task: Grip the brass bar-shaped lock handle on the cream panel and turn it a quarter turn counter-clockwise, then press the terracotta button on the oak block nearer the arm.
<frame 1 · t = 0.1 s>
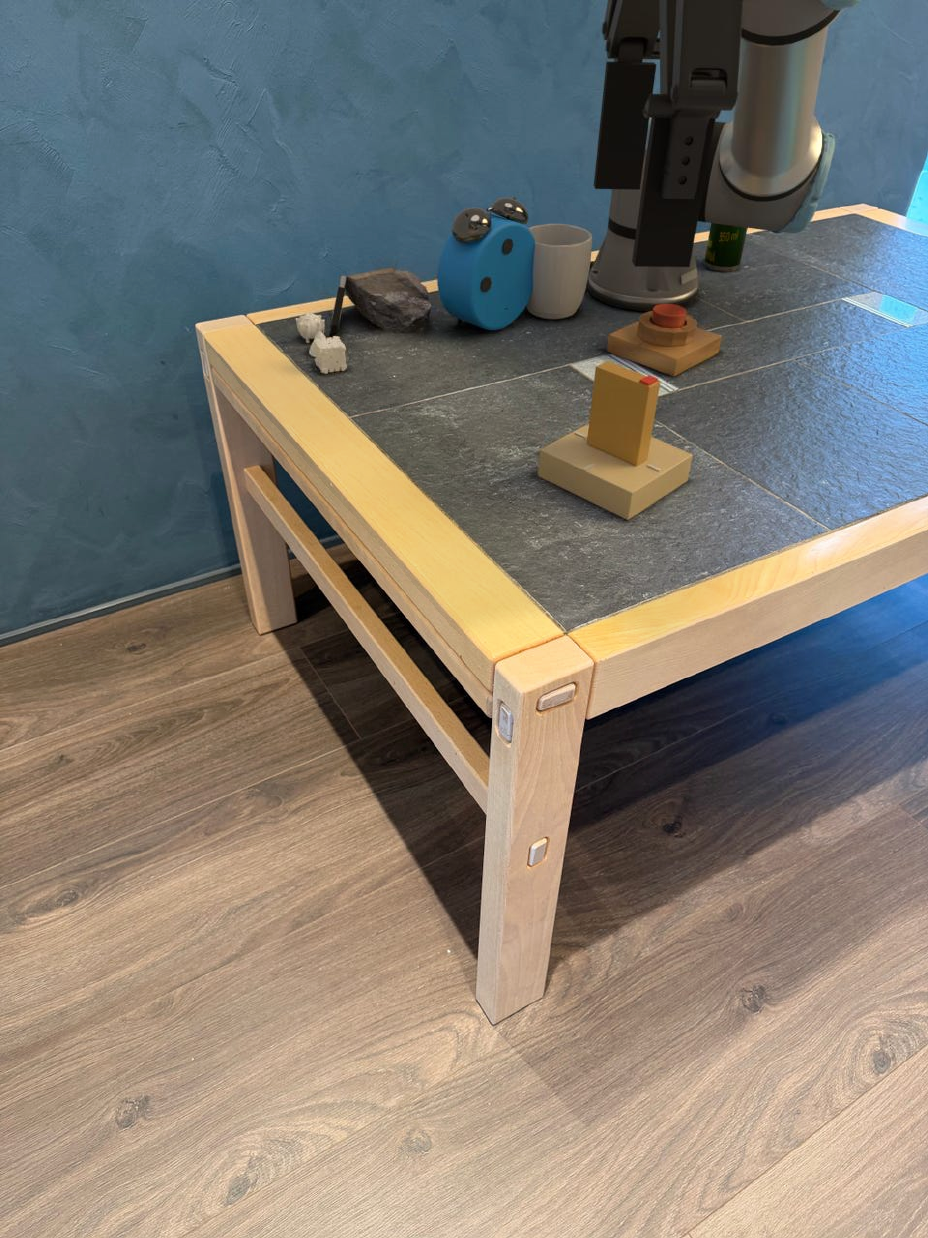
hand: (636, 222, 50), 31 cm above the table, tool pointing down, fingers open, 13 cm apart
button block: (662, 351, 113), on the table
mug: (540, 308, 124), on the table, touching alarm clock
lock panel: (612, 478, 89), on the table
alarm clock: (487, 325, 119), on the table, touching mug
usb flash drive: (342, 315, 117), point 1 cm above the table
game pieces: (321, 354, 111), on the table
beer can: (721, 267, 138), on the table
rock: (414, 324, 121), on the table
button: (668, 316, 110), point 4 cm above the table, slide at 0.1 cm
lock knob: (622, 412, 85), point 7 cm above the table, hinge at 0.0°
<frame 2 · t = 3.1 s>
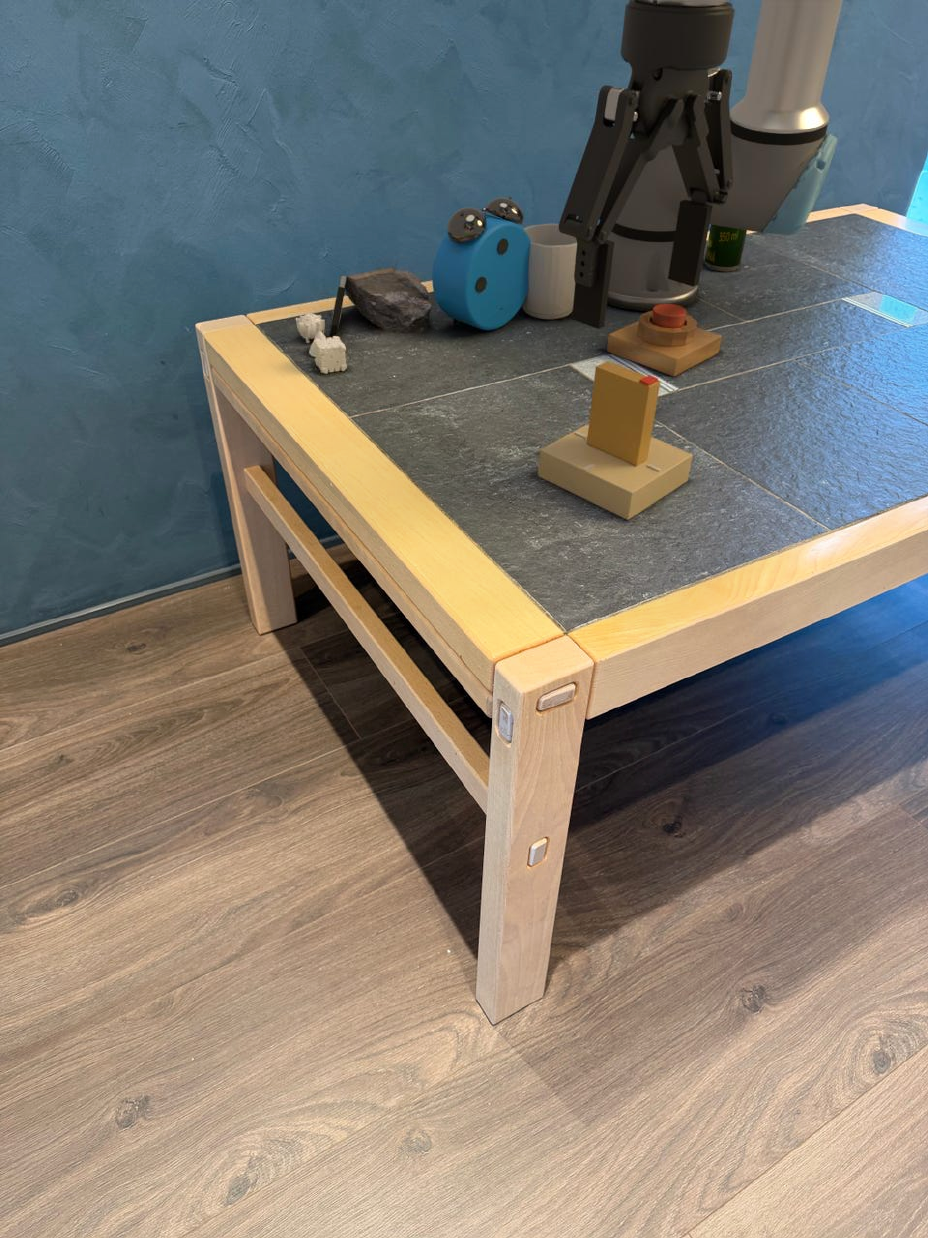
hand: (637, 301, 76), 18 cm above the table, tool pointing down, fingers open, 13 cm apart
alarm clock: (483, 325, 119), on the table, touching mug
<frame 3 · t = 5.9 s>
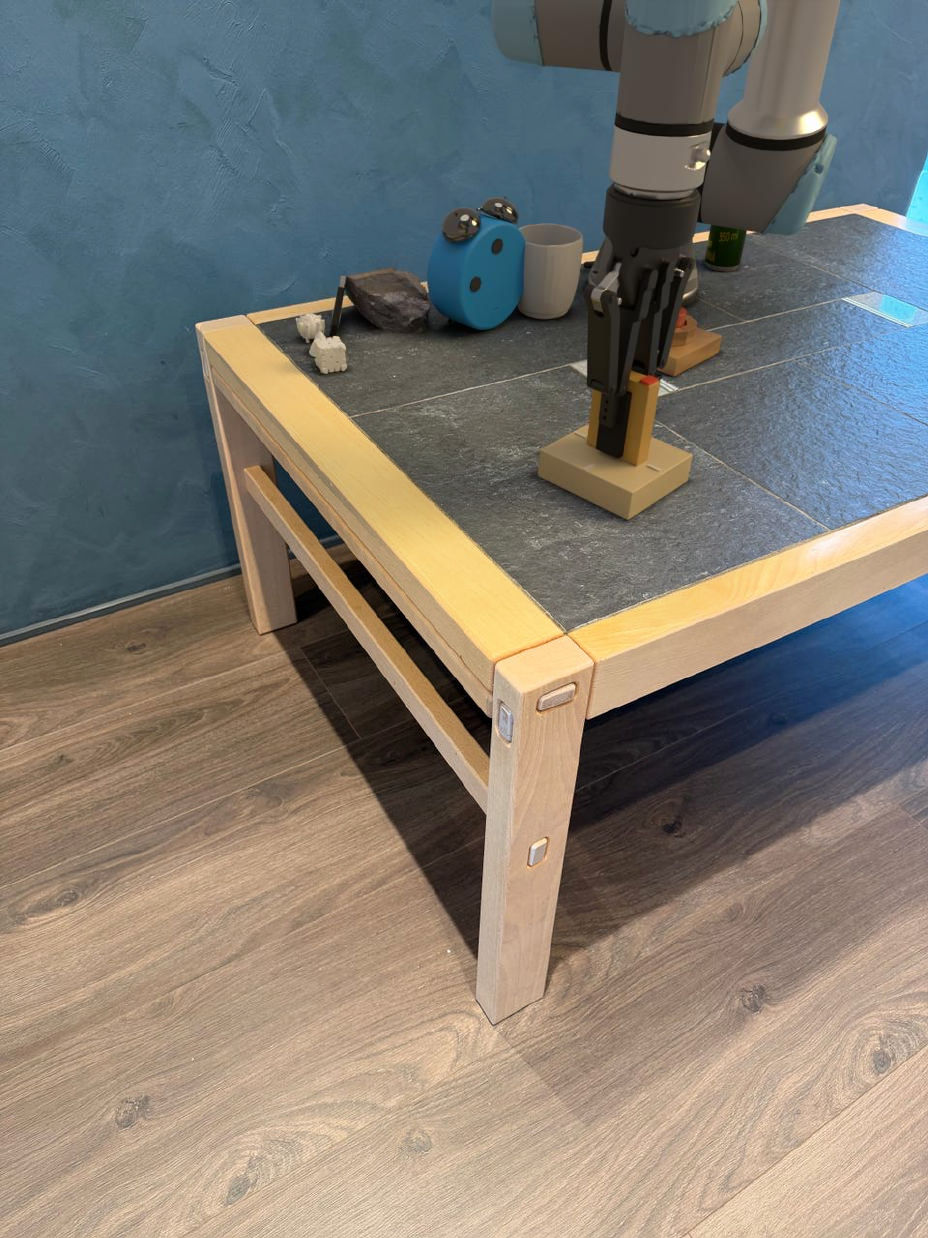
hand: (617, 447, 87), 3 cm above the table, tool pointing down, fingers closed on lock knob, 2 cm apart
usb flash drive: (342, 315, 117), point 1 cm above the table, touching rock
rock: (414, 324, 120), on the table, touching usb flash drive
lock knob: (622, 412, 85), point 7 cm above the table, hinge at 0.4°, touching gripper
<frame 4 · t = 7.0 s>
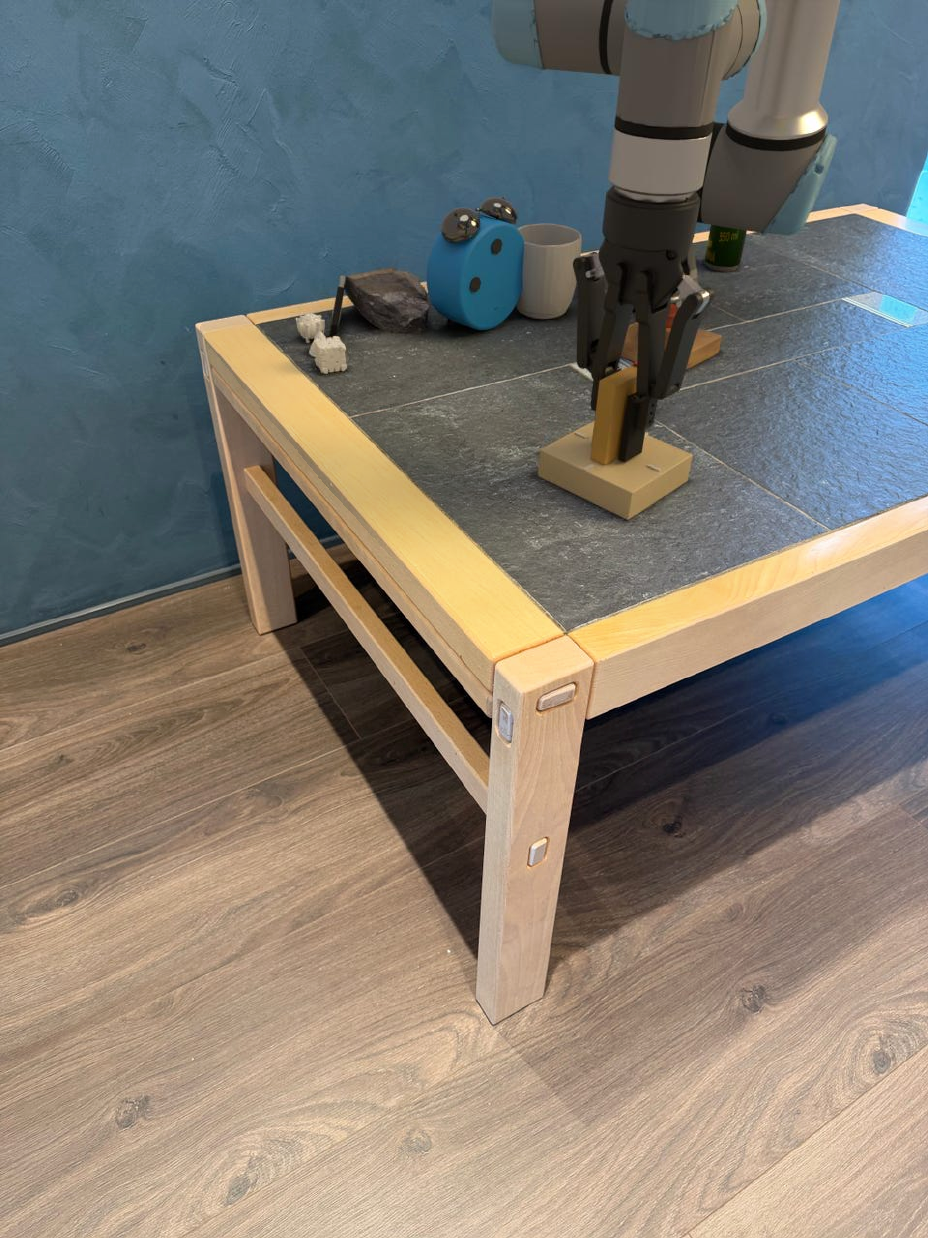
hand: (616, 449, 87), 3 cm above the table, tool pointing down, fingers open, 3 cm apart
lock knob: (622, 412, 85), point 7 cm above the table, hinge at 89.3°
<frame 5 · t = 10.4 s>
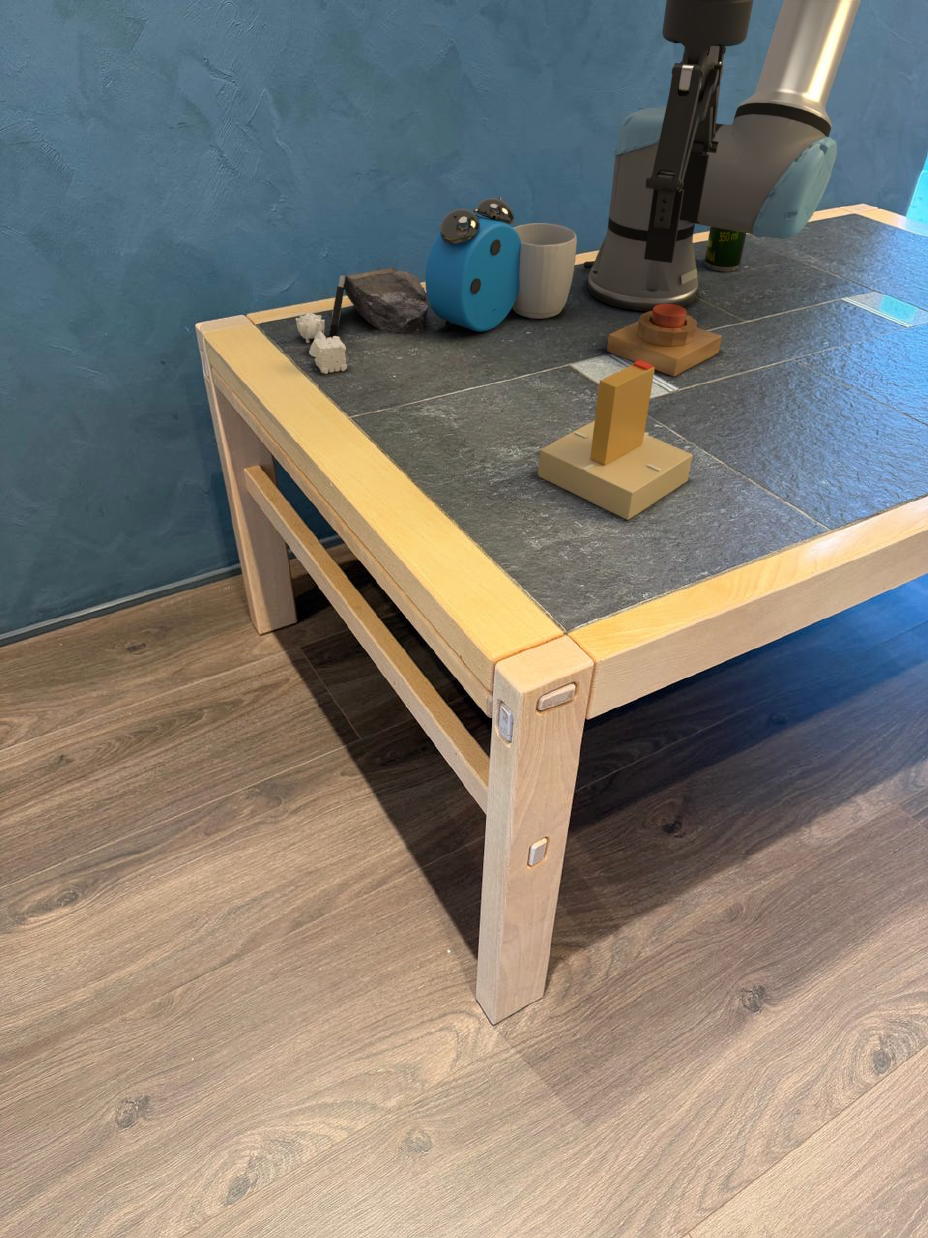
hand: (672, 238, 93), 17 cm above the table, tool pointing down, fingers open, 13 cm apart
alarm clock: (475, 326, 118), on the table, touching mug
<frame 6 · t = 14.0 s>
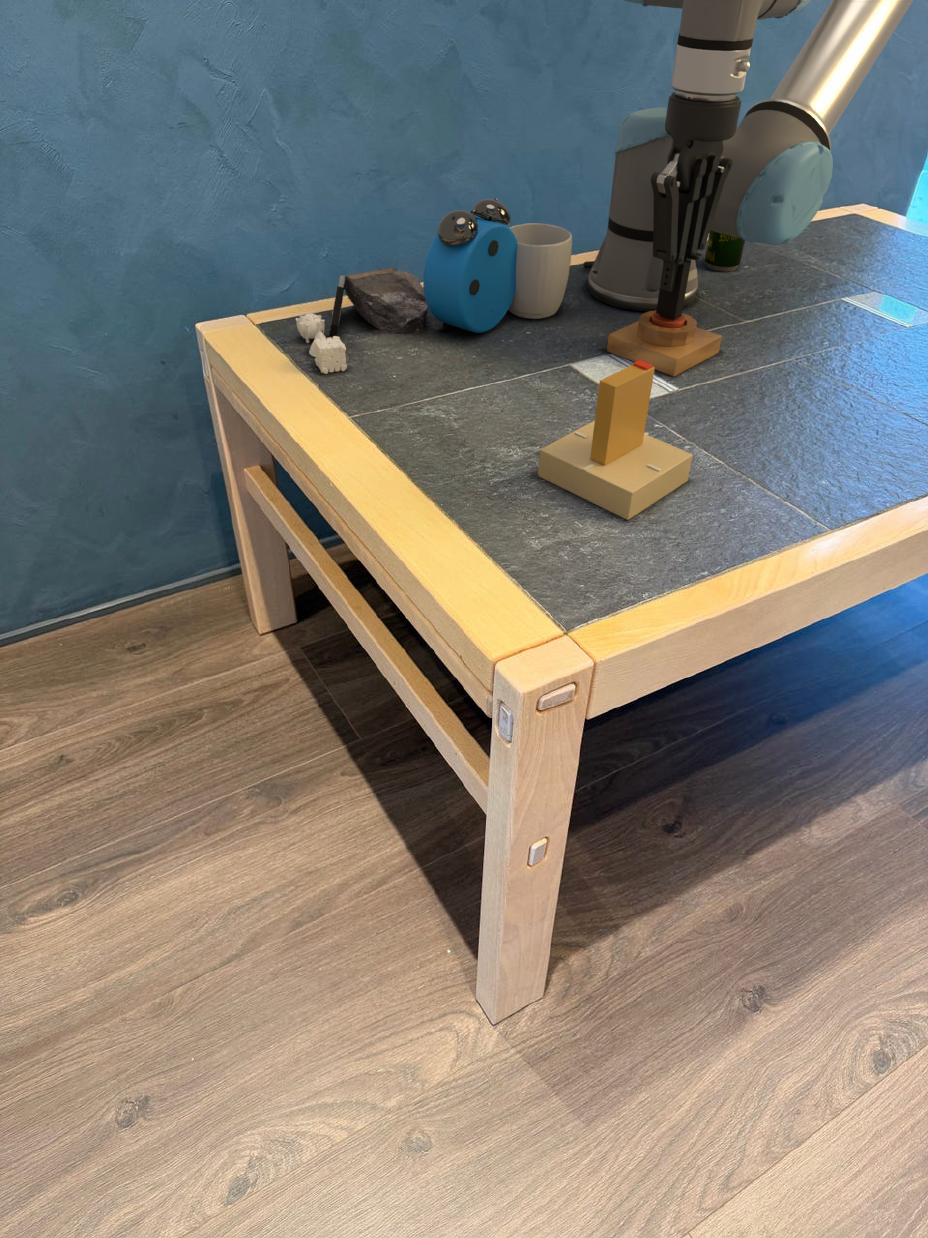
hand: (668, 314, 110), 5 cm above the table, tool pointing down, fingers closed
button: (667, 323, 111), point 4 cm above the table, slide at -0.7 cm, touching gripper
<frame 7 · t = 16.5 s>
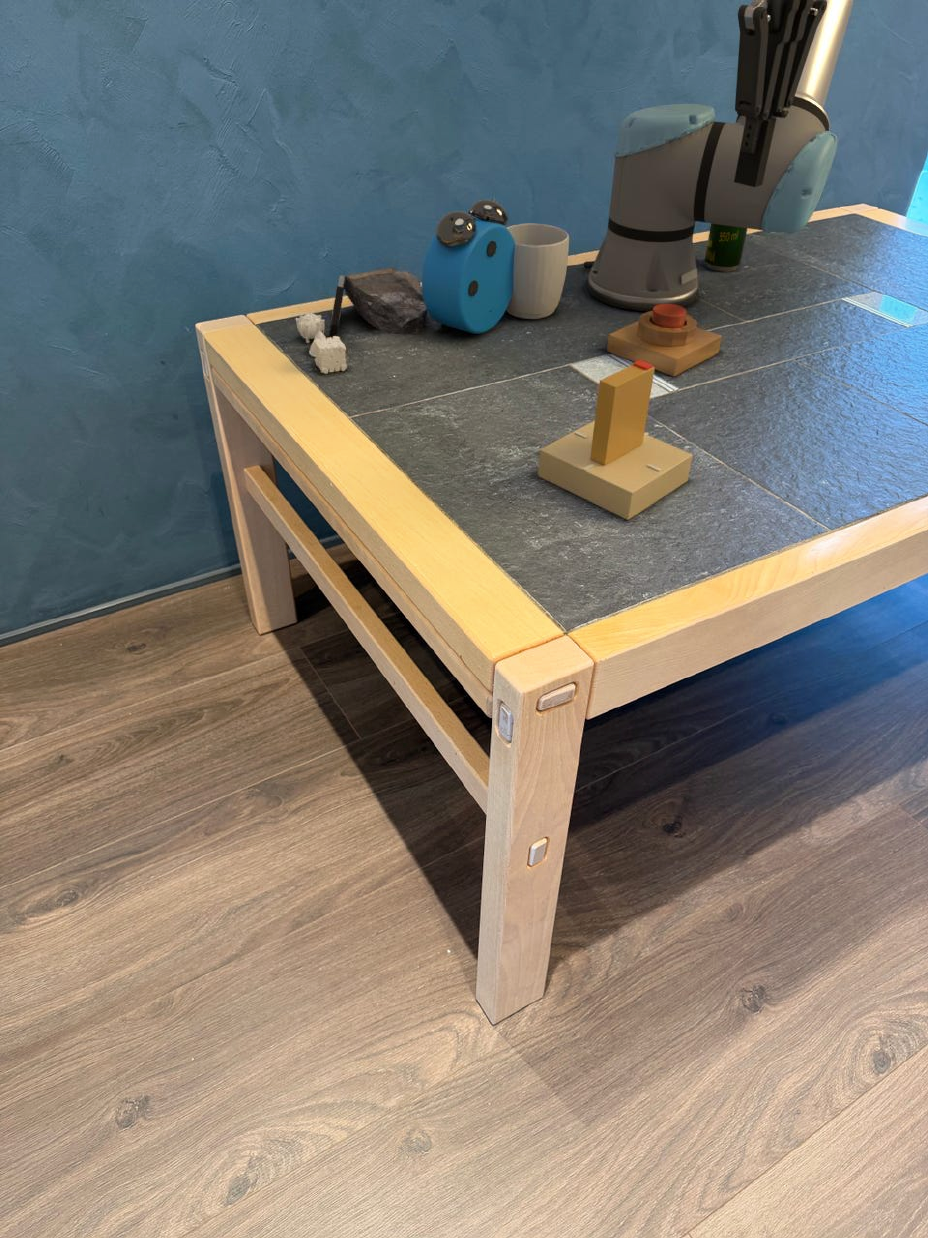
hand: (748, 183, 100), 20 cm above the table, tool pointing down, fingers closed
alarm clock: (470, 329, 118), on the table, touching mug
button: (668, 316, 110), point 4 cm above the table, slide at 0.1 cm
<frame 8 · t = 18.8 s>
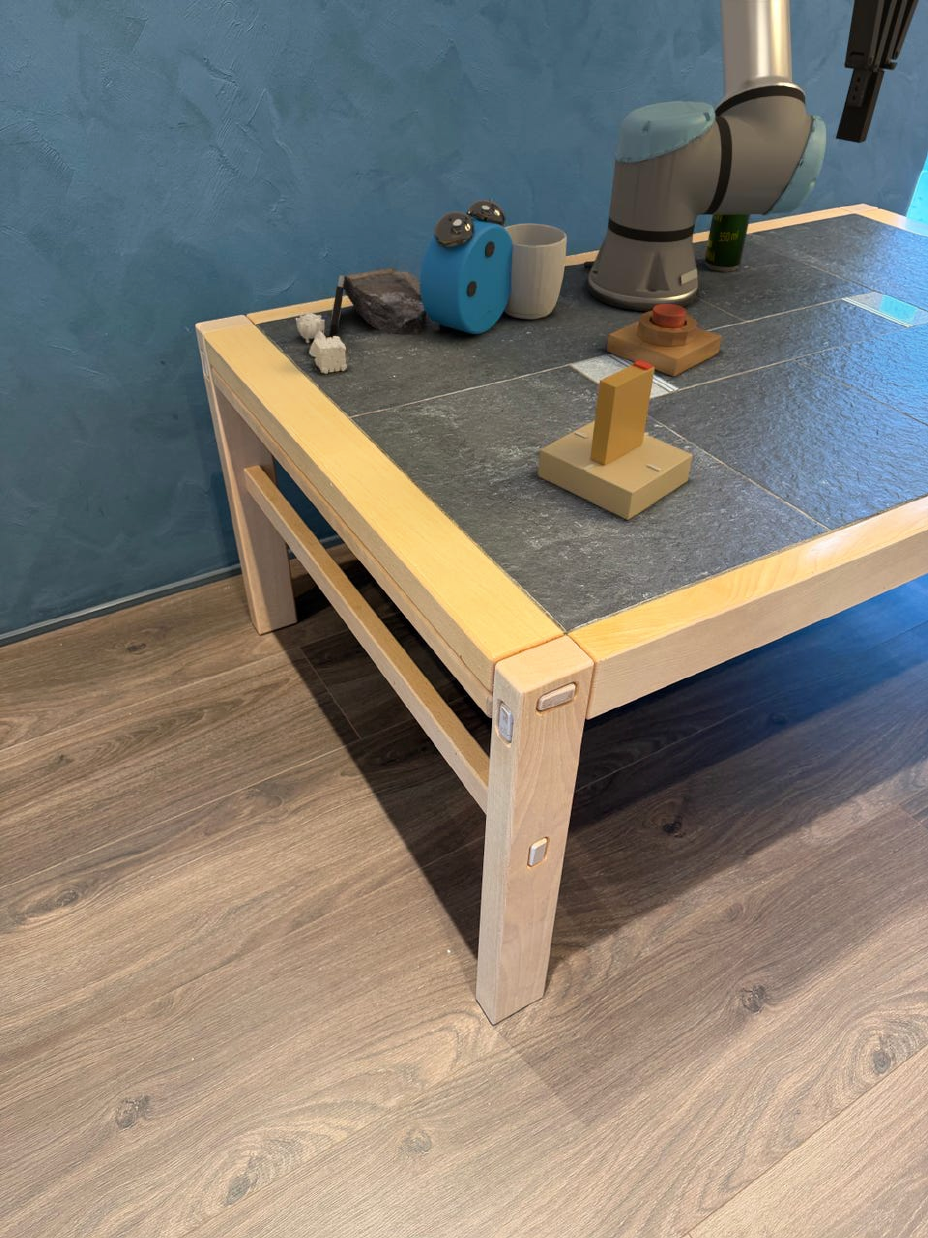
hand: (850, 139, 97), 24 cm above the table, tool pointing down, fingers closed
alarm clock: (468, 329, 118), on the table, touching mug
at the end: lock knob at +89° (first picture: +0°); button pushed in 1.0 cm at the most during the clip, back to where it started at the end; button slide at 0.1 cm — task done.
